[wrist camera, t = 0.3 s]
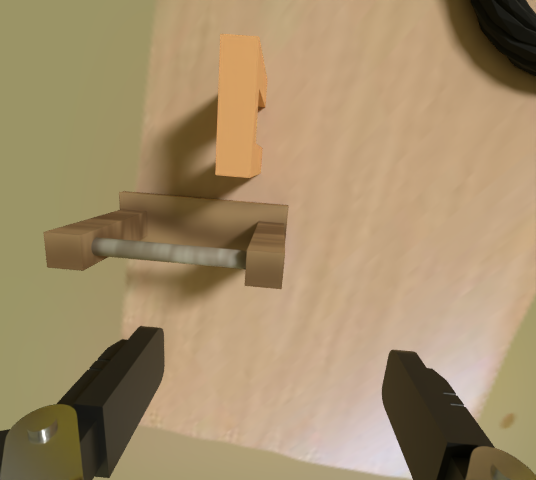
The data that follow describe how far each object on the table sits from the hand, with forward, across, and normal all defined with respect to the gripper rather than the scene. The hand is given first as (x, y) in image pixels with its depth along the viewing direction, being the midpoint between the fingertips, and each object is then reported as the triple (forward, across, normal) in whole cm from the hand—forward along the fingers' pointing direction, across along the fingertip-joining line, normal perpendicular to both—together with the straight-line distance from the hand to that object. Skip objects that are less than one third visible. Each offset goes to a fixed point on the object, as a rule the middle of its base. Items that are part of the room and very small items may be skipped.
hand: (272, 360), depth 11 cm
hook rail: (+27, +9, +2) cm, 29 cm away
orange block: (+27, +4, -10) cm, 29 cm away
